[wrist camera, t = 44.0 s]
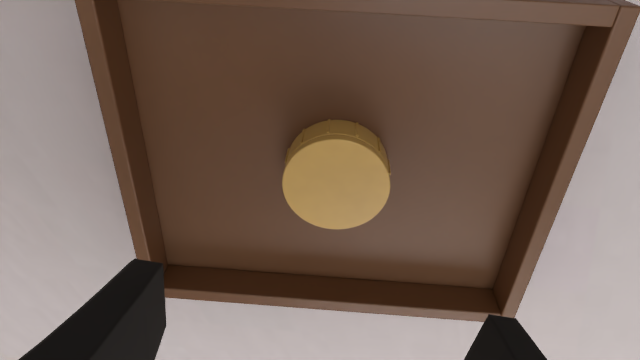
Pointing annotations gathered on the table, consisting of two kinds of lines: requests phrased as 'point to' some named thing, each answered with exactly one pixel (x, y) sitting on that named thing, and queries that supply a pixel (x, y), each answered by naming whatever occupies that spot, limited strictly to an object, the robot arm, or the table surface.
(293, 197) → the cap
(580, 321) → the table surface
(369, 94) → the tray
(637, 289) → the table surface
